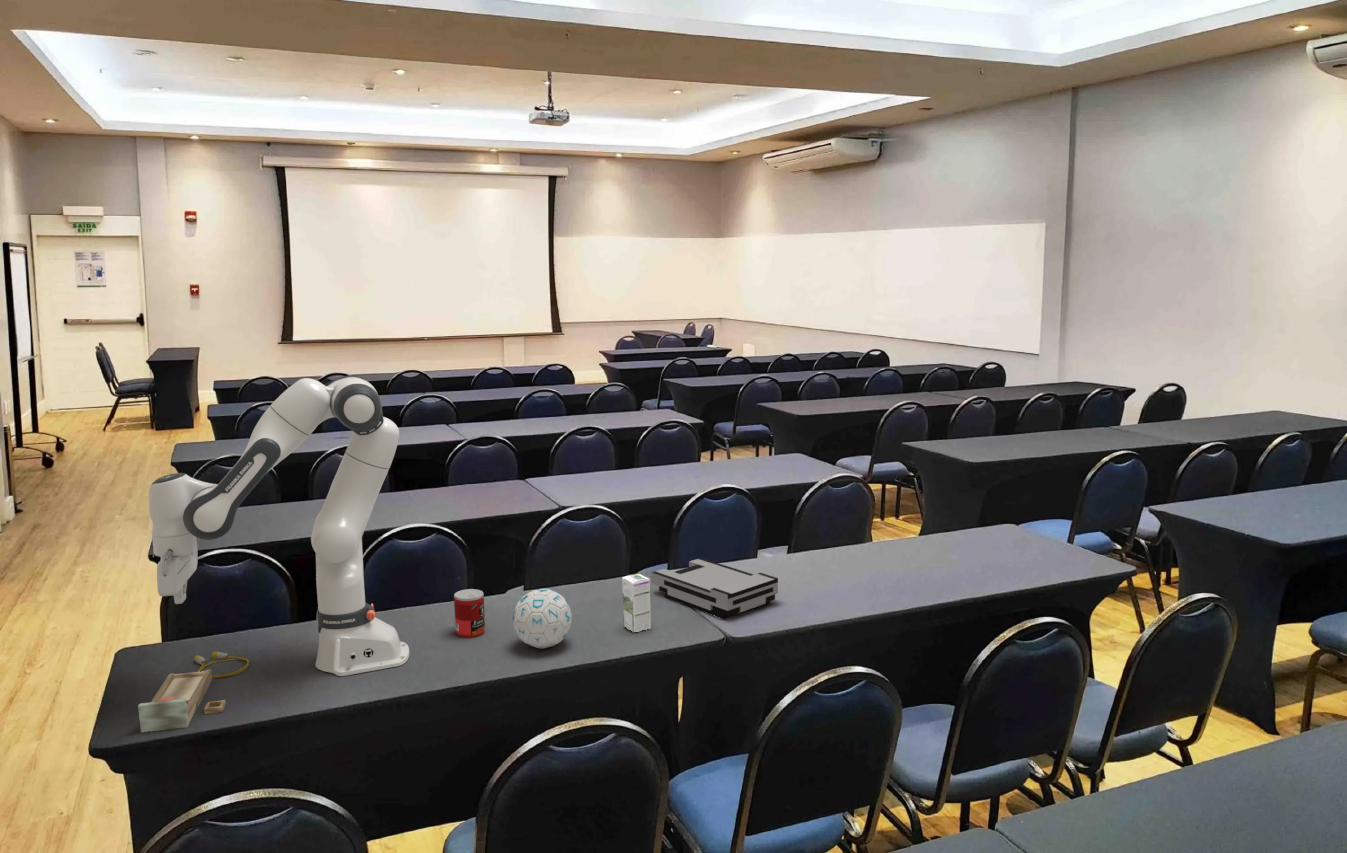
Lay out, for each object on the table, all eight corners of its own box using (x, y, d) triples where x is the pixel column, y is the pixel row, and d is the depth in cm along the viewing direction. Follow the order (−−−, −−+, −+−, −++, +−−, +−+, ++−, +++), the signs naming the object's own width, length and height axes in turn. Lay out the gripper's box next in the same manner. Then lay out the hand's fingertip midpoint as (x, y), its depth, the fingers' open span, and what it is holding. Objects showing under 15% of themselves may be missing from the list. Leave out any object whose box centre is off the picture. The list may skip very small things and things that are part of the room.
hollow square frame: (225, 704, 211) (225, 699, 211) (222, 712, 208) (221, 707, 207) (208, 706, 210) (207, 701, 210) (204, 714, 207) (204, 709, 207)
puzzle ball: (576, 653, 238) (574, 597, 235) (516, 660, 234) (514, 603, 232) (567, 631, 252) (566, 578, 250) (511, 637, 249) (509, 583, 246)
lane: (212, 681, 224) (210, 657, 223) (187, 727, 201) (184, 700, 200) (170, 685, 221) (168, 661, 220) (140, 732, 199) (138, 706, 198)
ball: (179, 718, 206) (181, 700, 209) (173, 710, 203) (176, 691, 205) (157, 722, 205) (160, 703, 208) (151, 713, 202) (154, 694, 204)
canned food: (476, 639, 247) (474, 599, 246) (449, 636, 250) (448, 596, 248) (490, 629, 255) (489, 590, 253) (465, 625, 257) (463, 587, 255)
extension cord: (247, 651, 242) (246, 644, 241) (251, 674, 228) (250, 666, 228) (194, 661, 236) (193, 653, 236) (195, 684, 223) (194, 677, 222)
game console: (701, 579, 295) (701, 554, 294) (777, 605, 272) (777, 578, 270) (651, 594, 281) (651, 568, 280) (727, 623, 258) (727, 594, 257)
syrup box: (651, 629, 254) (651, 577, 251) (633, 634, 250) (632, 582, 248) (640, 622, 258) (639, 572, 256) (622, 627, 255) (621, 576, 252)
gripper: (178, 556, 205) (183, 616, 208) (200, 531, 225) (205, 586, 227) (146, 558, 204) (152, 618, 206) (171, 533, 223) (177, 588, 226)
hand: (180, 601), depth 217 cm, fingers closed
